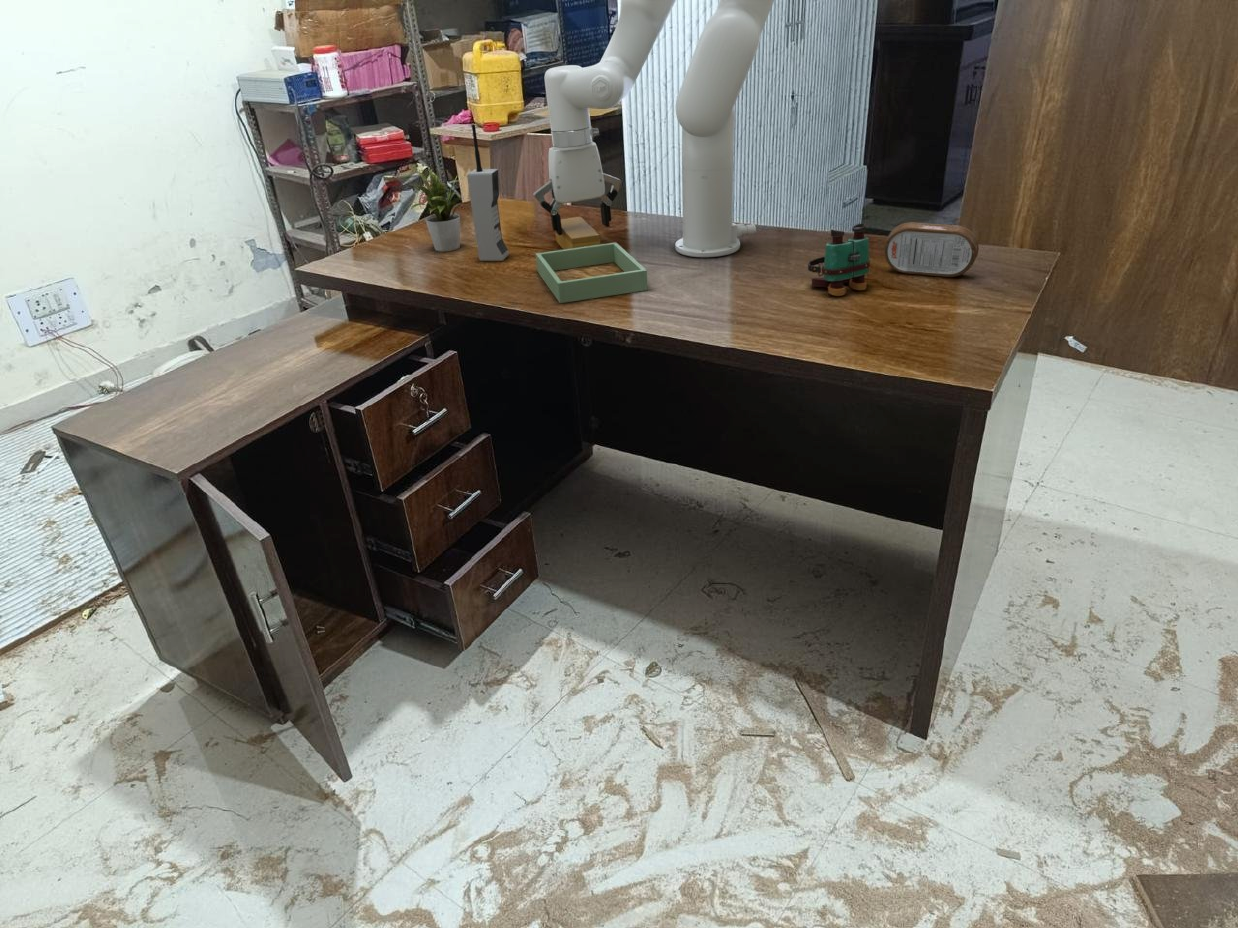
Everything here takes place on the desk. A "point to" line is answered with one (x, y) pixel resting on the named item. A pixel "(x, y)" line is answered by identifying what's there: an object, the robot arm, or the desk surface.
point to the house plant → (441, 214)
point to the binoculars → (843, 262)
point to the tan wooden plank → (577, 234)
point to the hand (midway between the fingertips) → (582, 229)
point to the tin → (931, 249)
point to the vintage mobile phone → (486, 210)
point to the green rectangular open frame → (591, 286)
